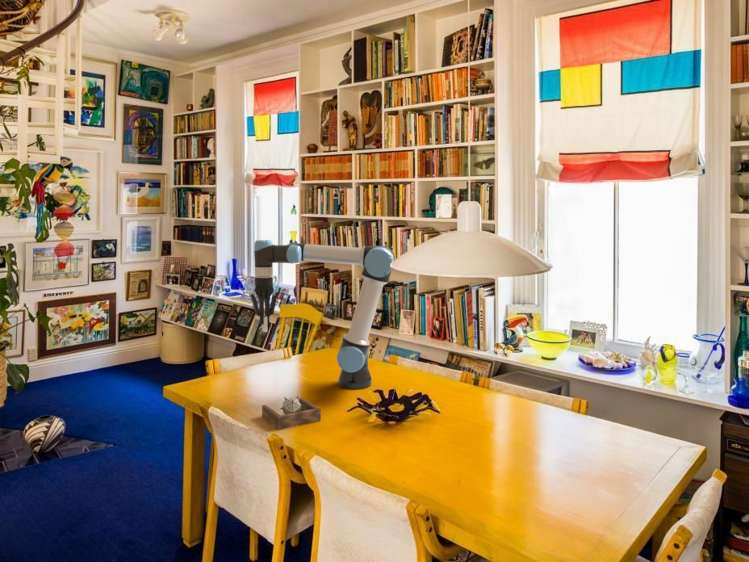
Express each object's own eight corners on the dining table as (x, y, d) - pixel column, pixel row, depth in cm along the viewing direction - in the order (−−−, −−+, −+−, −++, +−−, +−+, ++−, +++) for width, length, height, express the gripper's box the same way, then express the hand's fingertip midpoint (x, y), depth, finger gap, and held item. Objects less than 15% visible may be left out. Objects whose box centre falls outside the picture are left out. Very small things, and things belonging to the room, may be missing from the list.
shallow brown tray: (302, 408, 236) (302, 397, 235) (320, 420, 223) (320, 409, 223) (262, 416, 227) (262, 405, 226) (278, 429, 214) (278, 417, 213)
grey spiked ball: (294, 428, 225) (296, 414, 218) (275, 418, 227) (276, 403, 220) (306, 411, 231) (308, 396, 224) (287, 401, 233) (288, 386, 226)
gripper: (274, 274, 258) (275, 328, 261) (245, 276, 251) (247, 331, 254) (281, 276, 252) (282, 331, 255) (252, 278, 245) (253, 334, 248)
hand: (264, 331), depth 254 cm, fingers closed
